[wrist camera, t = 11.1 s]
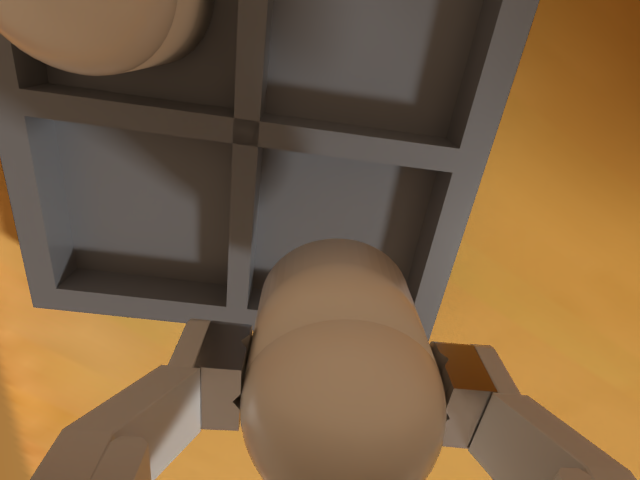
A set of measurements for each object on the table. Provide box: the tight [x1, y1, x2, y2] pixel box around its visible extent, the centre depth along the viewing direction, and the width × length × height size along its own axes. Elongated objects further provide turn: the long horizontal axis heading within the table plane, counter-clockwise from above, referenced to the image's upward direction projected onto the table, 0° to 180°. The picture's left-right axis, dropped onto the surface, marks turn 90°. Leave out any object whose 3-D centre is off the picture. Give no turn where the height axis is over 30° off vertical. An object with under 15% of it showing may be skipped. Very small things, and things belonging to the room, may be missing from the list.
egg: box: [240, 238, 447, 480], centre depth 10 cm, size 4×4×6 cm
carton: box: [0, 0, 539, 341], centre depth 14 cm, size 16×16×2 cm
